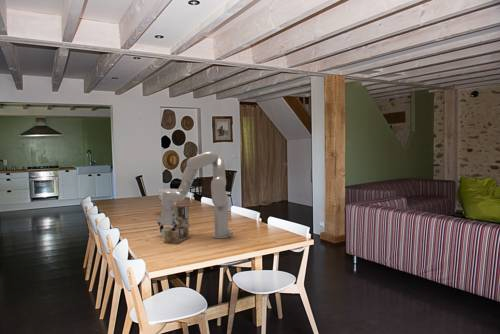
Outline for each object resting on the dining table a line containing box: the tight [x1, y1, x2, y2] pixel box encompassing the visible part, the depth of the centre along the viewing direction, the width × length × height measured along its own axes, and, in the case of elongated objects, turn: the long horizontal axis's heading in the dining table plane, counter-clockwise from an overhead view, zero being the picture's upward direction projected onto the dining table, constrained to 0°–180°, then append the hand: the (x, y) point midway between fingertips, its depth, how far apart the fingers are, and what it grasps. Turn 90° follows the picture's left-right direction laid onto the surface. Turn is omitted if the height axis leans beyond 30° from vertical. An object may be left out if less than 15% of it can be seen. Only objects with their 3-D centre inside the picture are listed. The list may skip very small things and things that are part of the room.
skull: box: [157, 188, 178, 206], centre depth 333 cm, size 25×19×23 cm
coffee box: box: [174, 205, 190, 228], centre depth 286 cm, size 9×6×16 cm
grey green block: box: [160, 225, 173, 239], centre depth 257 cm, size 6×10×6 cm, turn 157°
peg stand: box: [163, 226, 191, 245], centre depth 245 cm, size 11×16×8 cm
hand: (167, 232), depth 257 cm, fingers open, 9 cm apart
